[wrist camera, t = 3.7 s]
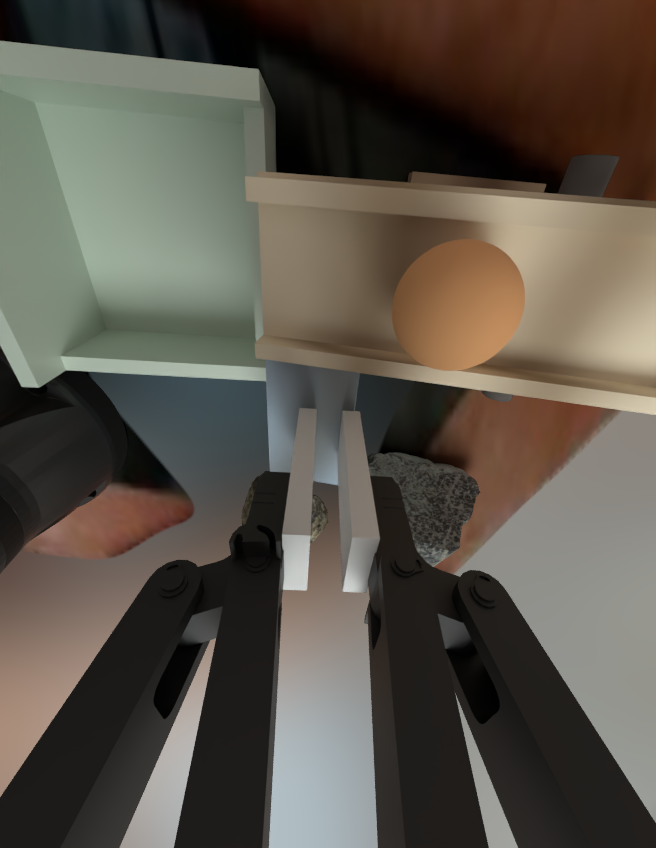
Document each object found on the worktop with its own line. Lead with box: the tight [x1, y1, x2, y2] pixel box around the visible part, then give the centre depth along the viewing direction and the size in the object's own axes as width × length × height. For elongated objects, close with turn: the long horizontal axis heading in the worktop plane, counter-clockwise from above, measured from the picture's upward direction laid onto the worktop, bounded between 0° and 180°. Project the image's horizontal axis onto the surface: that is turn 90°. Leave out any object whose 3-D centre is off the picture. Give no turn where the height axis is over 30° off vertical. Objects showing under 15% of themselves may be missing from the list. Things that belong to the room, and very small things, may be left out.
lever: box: [245, 155, 656, 485], centre depth 12 cm, size 20×14×4 cm
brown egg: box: [392, 239, 525, 371], centre depth 10 cm, size 4×4×4 cm
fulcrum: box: [408, 172, 546, 193], centre depth 16 cm, size 14×8×8 cm, turn 86°
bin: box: [0, 41, 276, 388], centre depth 15 cm, size 12×12×7 cm
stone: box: [367, 452, 480, 567], centre depth 26 cm, size 10×10×10 cm
